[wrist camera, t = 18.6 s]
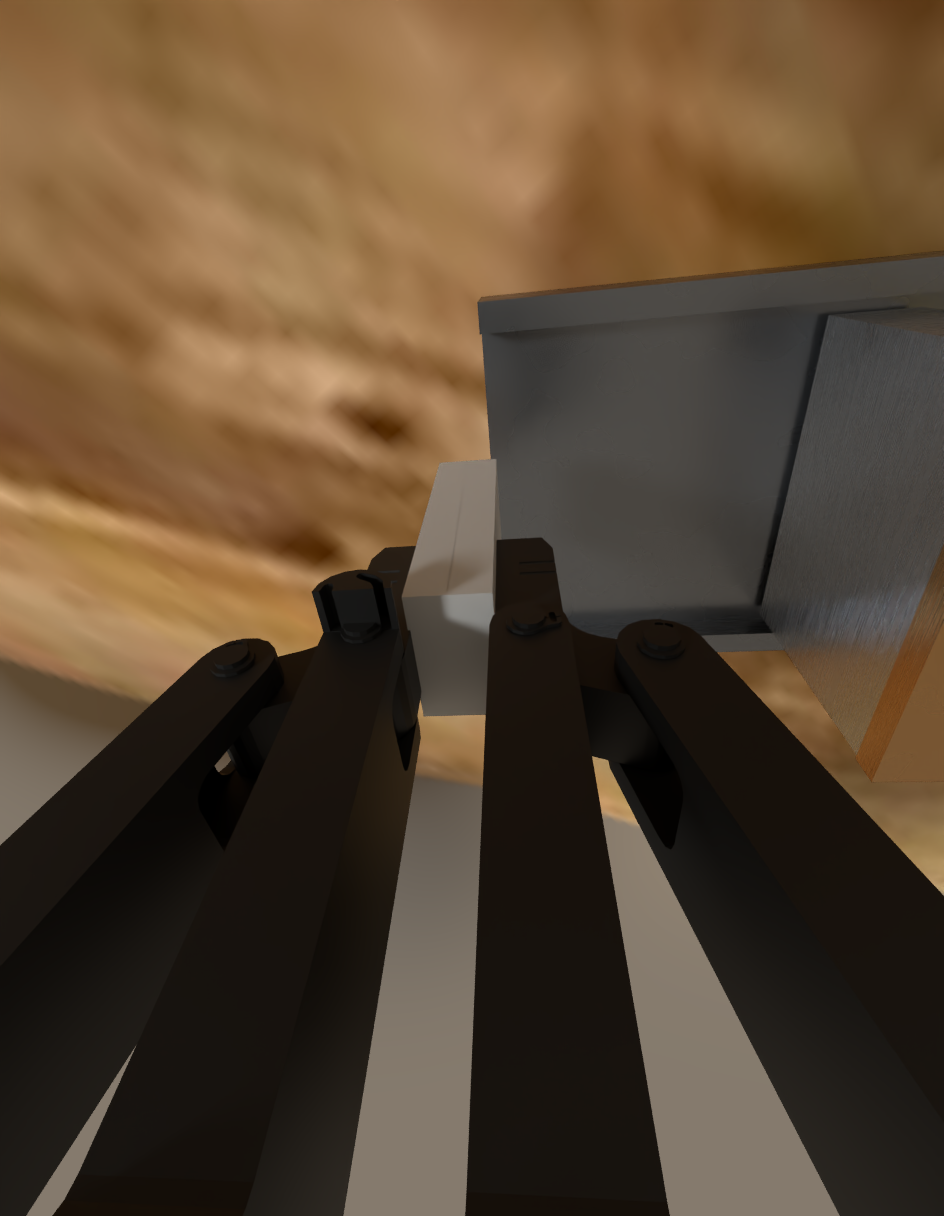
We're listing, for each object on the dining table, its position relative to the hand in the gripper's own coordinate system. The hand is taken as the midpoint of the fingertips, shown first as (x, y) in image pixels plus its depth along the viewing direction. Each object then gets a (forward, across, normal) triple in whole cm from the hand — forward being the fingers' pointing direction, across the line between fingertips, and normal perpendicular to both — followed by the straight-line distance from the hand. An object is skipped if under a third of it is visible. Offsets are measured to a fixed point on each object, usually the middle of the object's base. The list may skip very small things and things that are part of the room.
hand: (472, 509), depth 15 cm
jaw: (+4, +11, -2) cm, 12 cm away
